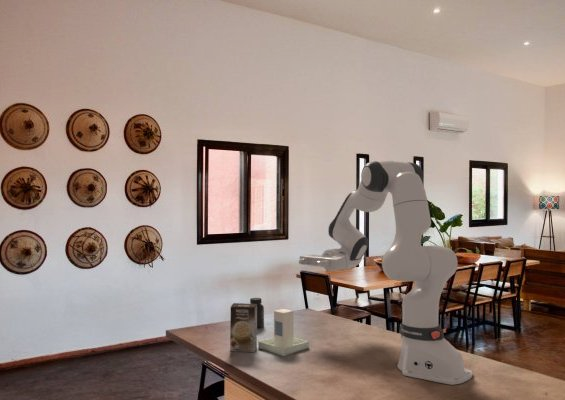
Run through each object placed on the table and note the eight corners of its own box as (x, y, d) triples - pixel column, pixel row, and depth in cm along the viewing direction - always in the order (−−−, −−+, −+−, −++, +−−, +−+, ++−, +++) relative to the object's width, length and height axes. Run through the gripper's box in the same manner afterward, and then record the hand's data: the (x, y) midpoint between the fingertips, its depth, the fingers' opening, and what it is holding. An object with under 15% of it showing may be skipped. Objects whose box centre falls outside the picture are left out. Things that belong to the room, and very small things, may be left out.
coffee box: (229, 351, 173) (229, 306, 173) (232, 346, 179) (232, 302, 180) (254, 352, 172) (254, 307, 172) (257, 347, 179) (257, 303, 179)
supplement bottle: (257, 323, 213) (257, 296, 213) (267, 326, 208) (267, 298, 208) (244, 326, 209) (244, 298, 209) (254, 329, 204) (254, 300, 204)
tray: (308, 348, 177) (308, 341, 177) (283, 356, 168) (283, 348, 168) (283, 341, 186) (283, 334, 186) (258, 348, 177) (258, 341, 177)
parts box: (293, 346, 177) (293, 310, 177) (283, 349, 173) (283, 313, 173) (283, 343, 180) (283, 308, 181) (273, 346, 177) (273, 310, 177)
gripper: (312, 250, 204) (289, 253, 195) (352, 253, 190) (329, 256, 180) (312, 265, 204) (289, 268, 194) (352, 270, 190) (329, 273, 180)
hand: (309, 263), depth 187 cm, fingers open, 8 cm apart
